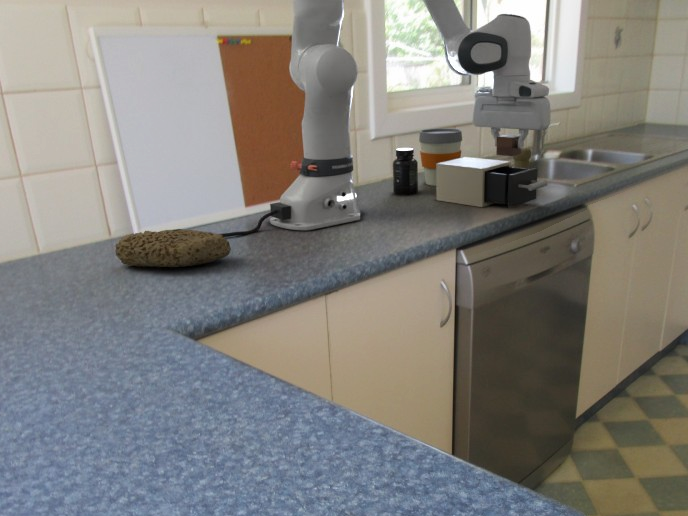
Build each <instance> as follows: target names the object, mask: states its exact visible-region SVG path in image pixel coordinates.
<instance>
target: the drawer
mask: <svg viewBox="0 0 688 516" xmlns="http://www.w3.org/2000/svg"><path fill="white" fill-rule="evenodd" d="M538 171H539V170H538V167H532V168H530V169H528V170H527V169H526V168H517V167H513V166H511V167H507V166H503V167H500V168H496V169H492V170H488V171H484V172H485V177H484V201H485V202H492V203H494V204H498V205H507V208H515V207H517V206H520V205H524V204H526V203H529V202H532V201H535V200H537V193H538V191H537V190H538V189H541V188H545V187H547V186H548V183H549V182H548V181H547V180H546V179H543V180H538Z"/></svg>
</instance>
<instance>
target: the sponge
mask: <svg viewBox="0 0 688 516" xmlns="http://www.w3.org/2000/svg"><path fill="white" fill-rule="evenodd" d="M221 234H222V233H215V232H211V231H203V230H202V231H201V230H195V229H183V228H176V229H164V230H160V231H152V230H144V232H142V231H140V232H136V233H131V234H126V235H125V236H123V237H121V238H120V239H119V240H118V242H117V243H115V245H114V246H115V250H114V253H115V256H116V257H117V259H119V260H120V262H121V264H122V265H127V266H134V267H144V268H145V267H153V268H154V267H158V268H167V267H168V268H184V267H192V266H193V267H194V266H197V265H198V266H199V265H205V264H208V263H212V262H215V261H218V260H220V259H223V258H226V257H227V256H229V255H230V253H231V250H232V248H231V243H230V241H229V240H228V239H227V238H226V237H224V236H222V235H221Z"/></svg>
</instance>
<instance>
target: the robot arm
mask: <svg viewBox="0 0 688 516" xmlns="http://www.w3.org/2000/svg"><path fill="white" fill-rule="evenodd" d="M422 2H423V3H424V5H425V7H426V9H427V11H428V12H429V15H430V17H431V19H432V20H433V23H434V25H435V27H436V28H437V31H438V32H439V34H440V37H441V39H442V41H443V42H442V43H443V48H444V57H445V58H444V59H445V61H446V64H447V66H448V67H449V69H450V70H451V71H452V72H453V73H455V74H456V75H460V76H463V77H464V76H466V77H467V76H481V75H484V74H486V73H489V72H491V73H492V75H491V76H492V83H491V84H492V85H491V87H487V88H486V87H480V88H479V89H477V90H476V91H475V93H474V98H473V99H474V103H473V110H472V119H471V120H472V121H471V122H472V124H473V126H474V127H477V128H490V133H491V135H492V138H493V139H494V147H496V148H497V137H498V136H501V135H500V132H501V129H508V130H510V129H511V130H518V135H519V136H520V137H519V139H518V140H517V141H515V148H519V149H521V148H523V147H524V148H525V145H524V144H525V140H526V138H527V137H528V135H529V133H530V132H529V131H545V130H547V129H548V128H549V127H550V125H551V103H550V100H549V98H548V97H547V96H549V94H550V88H549V86H547V85H545V84H542V83H539V82H537V81H535V80H534V79H533V80H532V79H531V69H530V60H531V57H532V31H531V24H530V21H529V20H528V19H527V18H526V17H524V16H522V15H518V14H512V13H510V14H508V13H500V14H497V16H496V17H495V18H494V19H492V20H491V21H489V22H488V23H486V24H484V25H482V26H480V27H478V28H476V29H474V30H472V29H470V27H468V25H467V24H466V22H465V21H464V19H463V16H462V14H461V12H460V10H459V8H458V6H457V4H456V2H455V0H422ZM292 5H293V21H292V34H291V47H290V50H291V52H290V60H289V65H288V66H289V68H288V69H289V70H288V71H289V75H290V78H291V80H292V81H293V83H294V84H295V85H296V86H297V88H299V90H301V91H303V93H304V94H305V98H304V111H303V117H302V119H301V133H302V136H301V137H302V146H303V147H302V148H303V157H302V159H301V161H296V160H292V161H291V162H290V164H289V166H290V169H291V170H292V171H293V170H294V171H299V175H298V176H297V178H296V179H294V181H293V182H292V183H291V184H290V185H289V187H288V188H287V189H285V191H284V192H283V193H282V194H281V196H280V198H279V202H272V203H269V207H270V209H269V210H270V212H267V213H266V214H264V215H263V216H261V218H260V219H259V220H258V222H257V224H256V226H255V227H254V228H252V229H251V230H243V231H242V230H241V231H232V232H226V233H225V232H223V233H220V234H221V235H222V236H224V238H228V237H237V236H246V235H251V234H254V233H257V232H258V231H259V230H260V228H261V227H262V224H263V222H264V221H265V220H266V219H268V218H269V217H270V218H269V223H270V224H271V225H272V226H275V227H277V228H281V229H286V230H293V231H312V230H316V229H317V230H318V229H322V228H326V227H332V226H336V225H342V224H346V223H351V222H355V221H360V220H361V213H362V212H361V210H360V207H359V203H358V199H357V192H356V187H355V183H354V177H353V171H354V170H355V169H354V158H353V157H354V156H353V155H352V154H351V153H352V151H351V133H350V131H351V130H350V119H351V118H350V117H351V109H352V100H353V93H354V86H355V84H356V82H357V79H358V73H359V70H358V63H357V61H356V59H355V57H354V55H352V54H351V53H350V52H349V51H348V50H347V49H345V48H344V47H342V46H340V45H339V42H340V33H341V27H342V22H343V20H344V16H345V0H292Z"/></svg>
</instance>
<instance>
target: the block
mask: <svg viewBox="0 0 688 516" xmlns="http://www.w3.org/2000/svg"><path fill="white" fill-rule="evenodd" d="M519 137H520V134H518V135H516V134H504V135H500V136H498V137H497V147H496V150H495V151H496V153H495V155H496V156H505V157H512V156H515V155H519V154H521V149H519V148H515V141H517V140H518V139H519Z"/></svg>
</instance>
